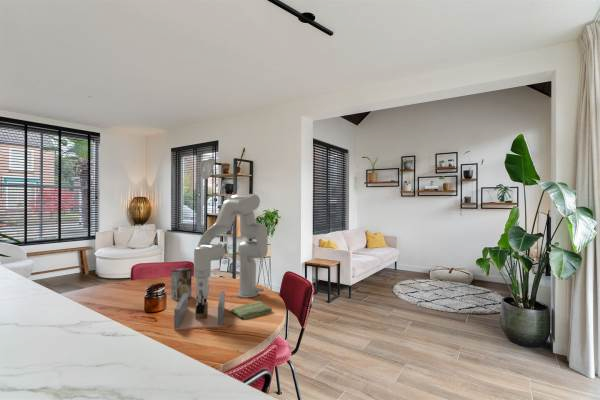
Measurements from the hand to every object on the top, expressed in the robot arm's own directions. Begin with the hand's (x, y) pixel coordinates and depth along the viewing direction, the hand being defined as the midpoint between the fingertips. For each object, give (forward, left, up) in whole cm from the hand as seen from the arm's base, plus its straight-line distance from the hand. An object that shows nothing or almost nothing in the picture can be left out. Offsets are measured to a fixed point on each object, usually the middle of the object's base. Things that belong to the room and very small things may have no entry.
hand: (201, 309), depth 144 cm
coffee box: (+15, -33, -4) cm, 36 cm away
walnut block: (0, 0, -3) cm, 3 cm away
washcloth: (-23, -4, -5) cm, 24 cm away
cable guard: (0, 0, -4) cm, 4 cm away
